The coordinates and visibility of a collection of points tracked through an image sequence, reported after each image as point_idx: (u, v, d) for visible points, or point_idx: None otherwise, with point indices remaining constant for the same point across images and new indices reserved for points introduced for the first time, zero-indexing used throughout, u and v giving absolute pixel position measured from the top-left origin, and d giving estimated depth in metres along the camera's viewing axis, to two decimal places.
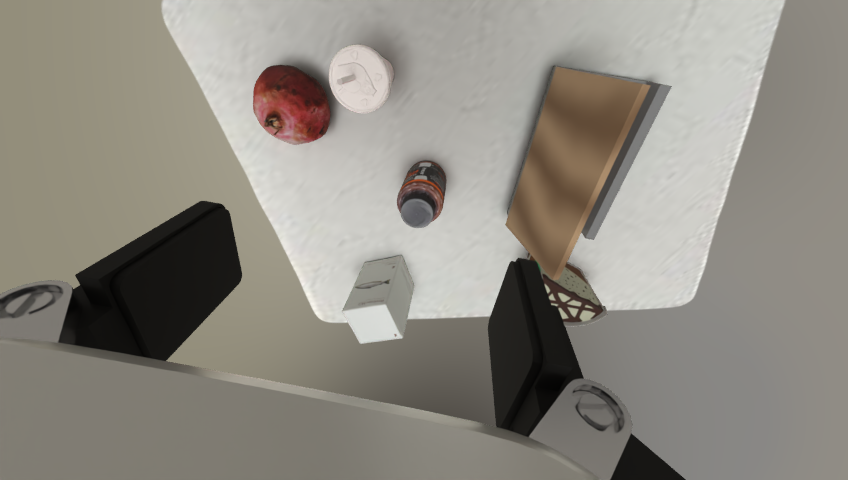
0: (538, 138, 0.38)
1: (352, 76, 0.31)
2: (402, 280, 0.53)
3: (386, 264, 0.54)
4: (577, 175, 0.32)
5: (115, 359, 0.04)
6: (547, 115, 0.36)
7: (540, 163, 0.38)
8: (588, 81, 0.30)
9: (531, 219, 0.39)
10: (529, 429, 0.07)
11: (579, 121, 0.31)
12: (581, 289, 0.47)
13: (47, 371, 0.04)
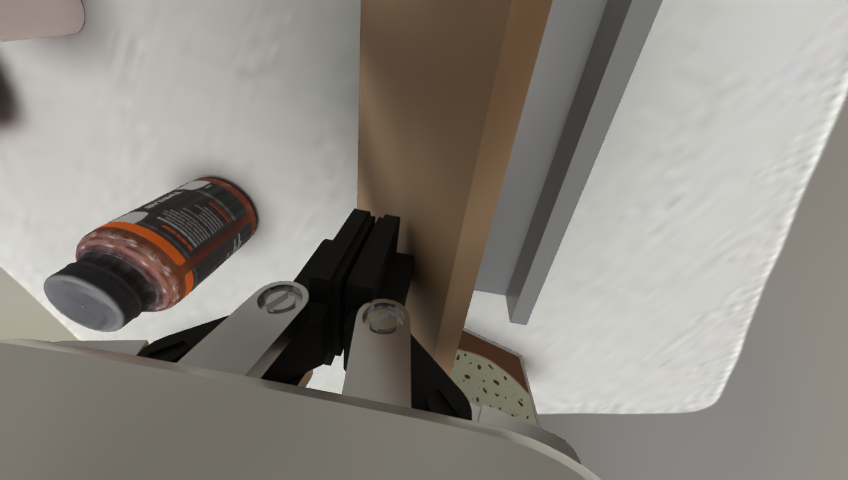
0: (362, 128, 0.16)
1: None
2: None
3: None
4: (414, 234, 0.10)
5: (115, 359, 0.04)
6: (365, 70, 0.14)
7: (369, 186, 0.16)
8: None
9: None
10: (344, 344, 0.08)
11: (402, 66, 0.10)
12: None
13: (47, 371, 0.04)
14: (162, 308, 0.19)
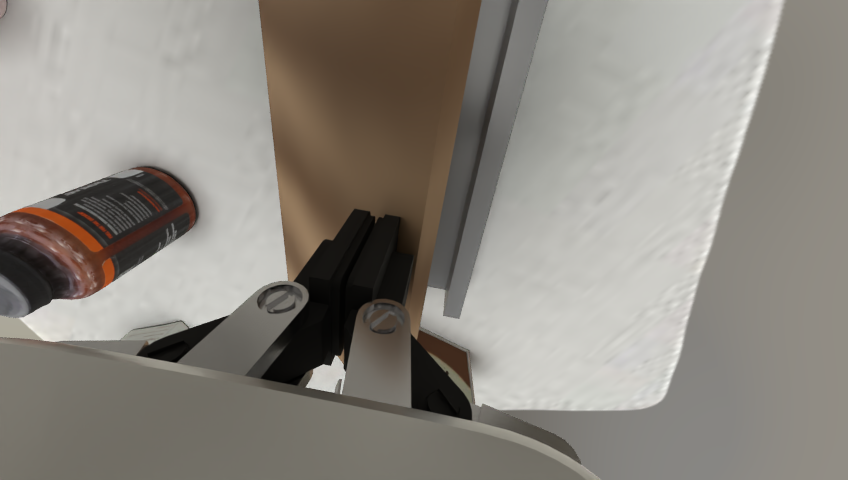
0: (278, 117, 0.16)
1: None
2: None
3: (145, 339, 0.32)
4: (372, 207, 0.12)
5: (115, 359, 0.04)
6: (275, 59, 0.15)
7: (298, 175, 0.16)
8: None
9: None
10: (344, 344, 0.08)
11: (335, 58, 0.11)
12: None
13: (47, 371, 0.04)
14: (80, 295, 0.19)
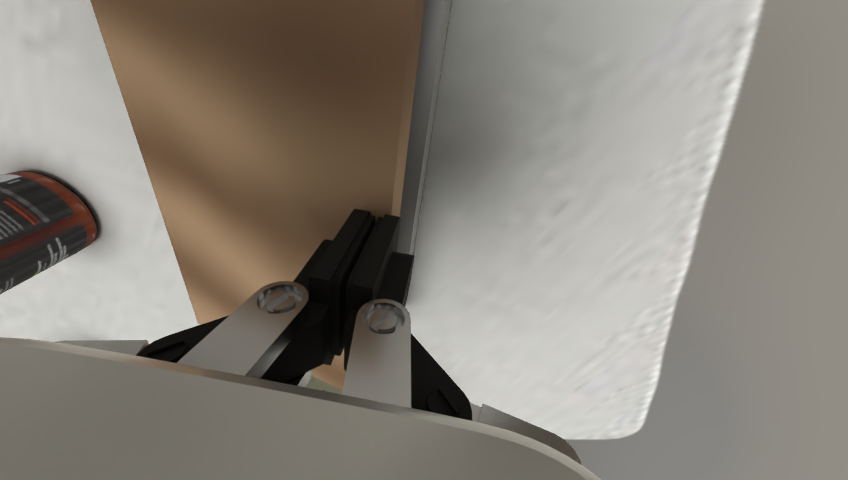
0: (145, 113, 0.13)
1: None
2: None
3: None
4: (323, 197, 0.12)
5: (115, 359, 0.04)
6: (126, 36, 0.11)
7: (195, 180, 0.14)
8: None
9: None
10: (344, 344, 0.08)
11: (245, 37, 0.10)
12: None
13: (47, 371, 0.04)
14: None
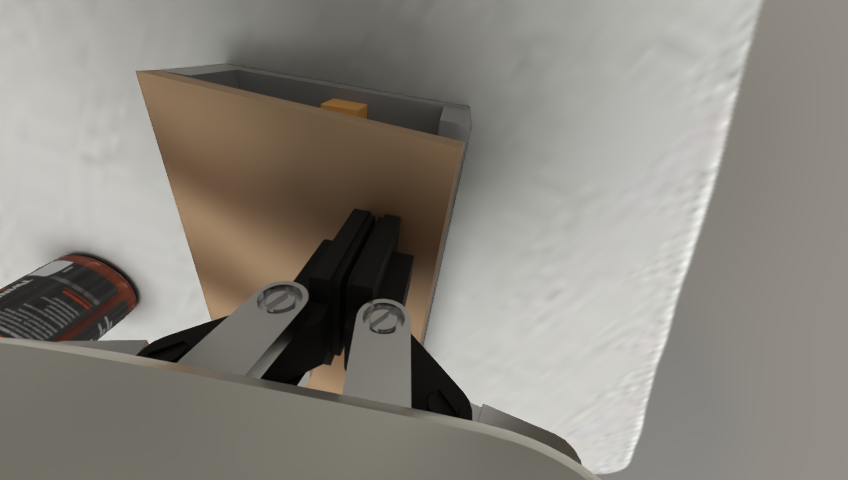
0: (205, 249, 0.15)
1: None
2: None
3: None
4: None
5: (115, 359, 0.04)
6: (197, 201, 0.14)
7: (246, 298, 0.16)
8: (277, 124, 0.11)
9: None
10: (344, 344, 0.08)
11: (305, 221, 0.12)
12: None
13: (47, 371, 0.04)
14: None
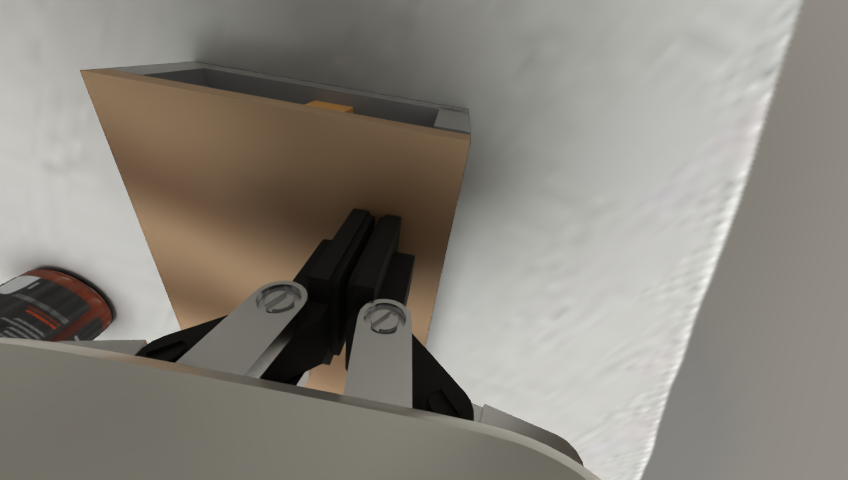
0: (179, 269, 0.14)
1: None
2: None
3: None
4: None
5: (115, 359, 0.04)
6: (167, 217, 0.12)
7: None
8: (268, 126, 0.10)
9: None
10: (346, 344, 0.08)
11: (302, 228, 0.12)
12: None
13: (47, 371, 0.04)
14: None
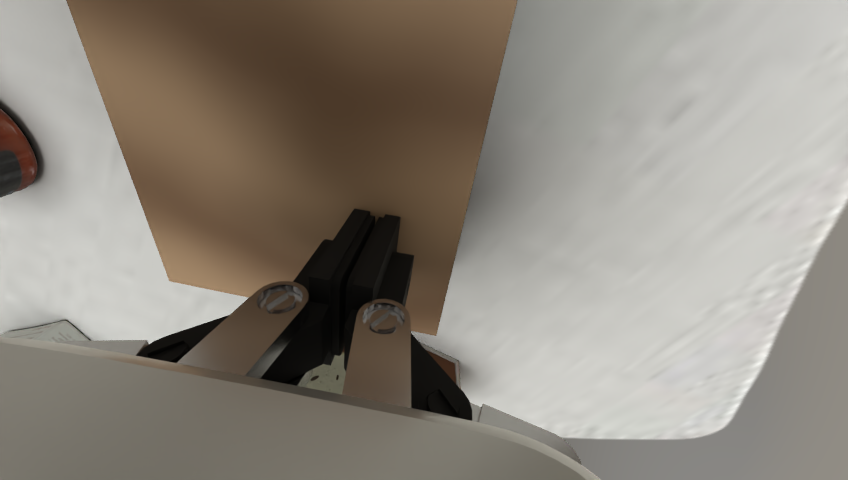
0: None
1: None
2: None
3: None
4: (402, 1, 0.08)
5: (115, 359, 0.04)
6: None
7: (165, 11, 0.09)
8: None
9: (267, 231, 0.12)
10: (344, 344, 0.08)
11: None
12: None
13: (47, 371, 0.04)
14: None
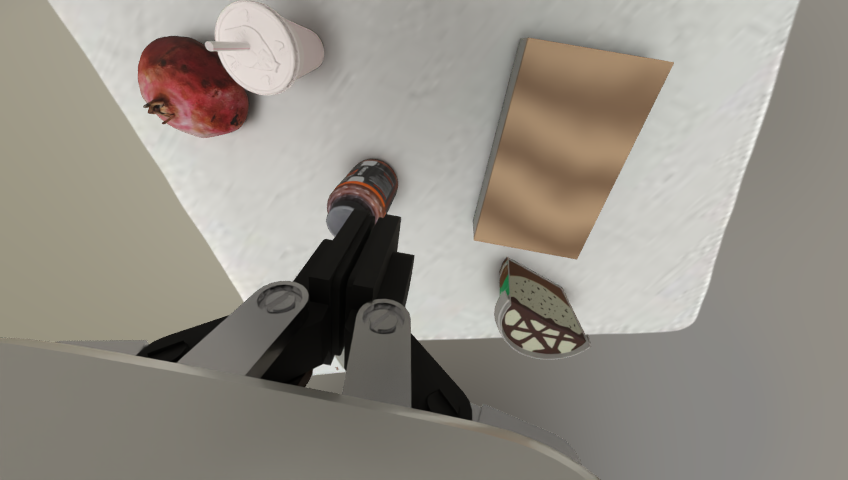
0: (514, 131, 0.30)
1: (241, 43, 0.23)
2: None
3: None
4: (595, 160, 0.31)
5: (115, 359, 0.04)
6: (526, 102, 0.29)
7: (526, 159, 0.31)
8: (595, 58, 0.27)
9: (526, 220, 0.35)
10: (344, 344, 0.08)
11: (588, 104, 0.28)
12: (560, 315, 0.39)
13: (47, 371, 0.04)
14: None
